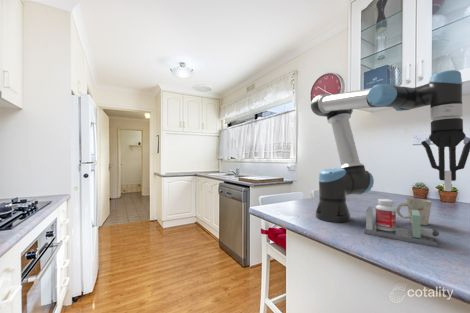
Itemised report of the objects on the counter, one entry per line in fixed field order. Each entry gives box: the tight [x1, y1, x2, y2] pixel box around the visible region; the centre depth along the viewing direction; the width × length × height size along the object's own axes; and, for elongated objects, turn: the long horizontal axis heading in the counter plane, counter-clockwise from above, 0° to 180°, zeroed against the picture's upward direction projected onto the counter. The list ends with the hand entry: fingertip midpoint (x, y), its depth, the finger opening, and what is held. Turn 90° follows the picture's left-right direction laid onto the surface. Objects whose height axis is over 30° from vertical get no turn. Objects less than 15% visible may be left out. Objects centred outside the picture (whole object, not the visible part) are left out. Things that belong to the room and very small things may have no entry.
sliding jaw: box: [411, 210, 440, 238], centre depth 73 cm, size 7×9×8 cm
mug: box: [395, 197, 432, 226], centre depth 92 cm, size 8×13×10 cm, turn 78°
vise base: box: [364, 206, 438, 248], centre depth 78 cm, size 20×10×8 cm, turn 52°
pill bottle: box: [375, 198, 397, 232], centre depth 80 cm, size 6×6×11 cm
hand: (447, 190), depth 69 cm, fingers closed
